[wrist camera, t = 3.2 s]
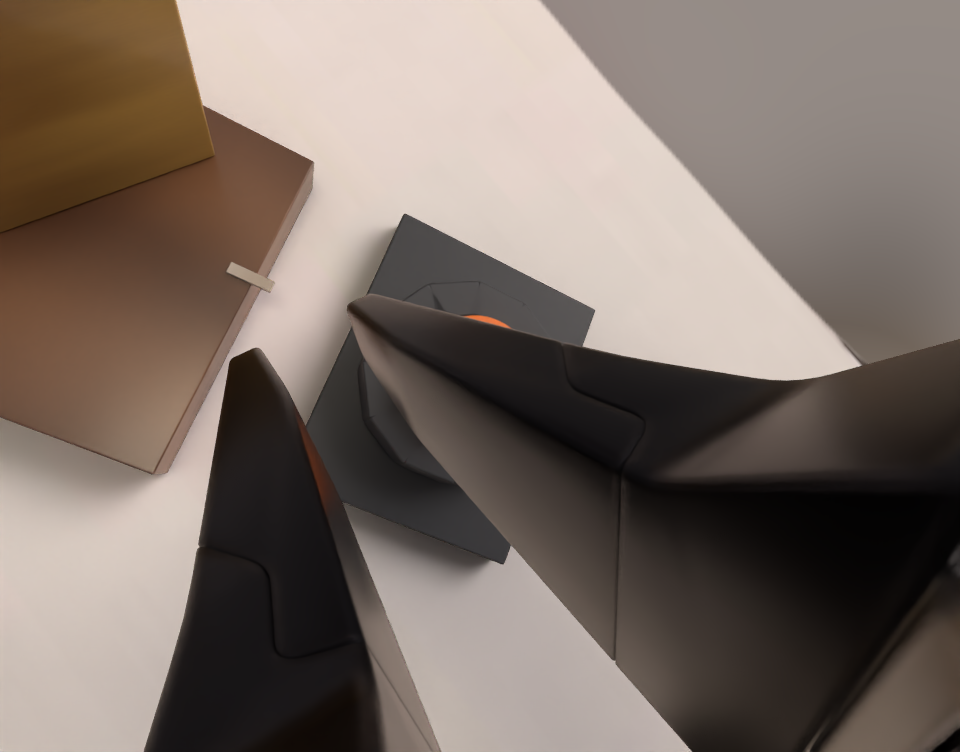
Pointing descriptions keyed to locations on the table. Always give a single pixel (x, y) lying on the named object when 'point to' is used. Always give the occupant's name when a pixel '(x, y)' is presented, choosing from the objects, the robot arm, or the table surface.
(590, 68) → the table surface
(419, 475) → the opener housing
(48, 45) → the upright square tan panel
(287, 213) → the brown square slab
